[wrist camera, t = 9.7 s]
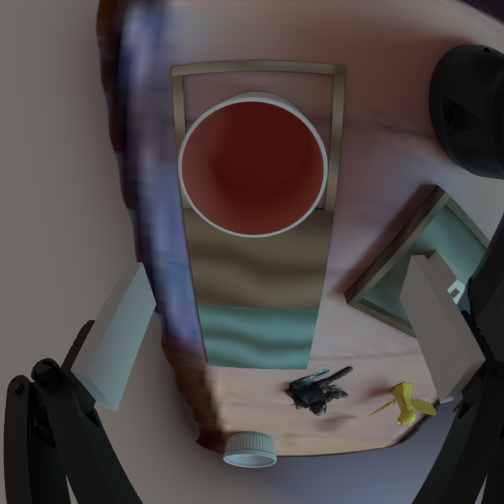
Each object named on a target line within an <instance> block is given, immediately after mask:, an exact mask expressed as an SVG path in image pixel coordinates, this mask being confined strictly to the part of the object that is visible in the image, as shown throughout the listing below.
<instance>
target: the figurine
mask: <svg viewBox="0 0 504 504" xmlns="http://www.w3.org/2000/svg"><path fill="white" fill-rule="evenodd" d="M412 386H413V384H408V383H406V382H403V383H401V384H399V385H397V386H395V388H394V389H393V390H392V393H393V395H394V397H395V399H393V398H392V399H393V401H391V402H389V403H387V404H385V405H384V406H382V407H381V408H379V409H378V410H376V411H375V412H373V413H372V414H374V413H376V412H378V411H380V410H381V409H383V408H385V407H387V406H389V405H390V404H391V403H393V402H394V404H395V401H397V403H398V405H399V407H400V410H401V411H402V412H401V414H400V416H399V417H398V419H397V420H398V424H401V423H402V424H403V425H409V426H412V423H413V422H414V420H415V418H416V413H415V411H414V410H413V408H415V409H416V410H417V412H419V413H421V412H422V413H426V414H431V415H435V414H436V413H437V412H435V409H434V408H433V405H429V403H426V402H425V401H422V400H421V399H419V400H418V399H410V395H411V390H412ZM394 404H393V405H394ZM372 414H370V415H372Z"/></svg>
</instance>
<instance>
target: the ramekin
mask: <svg viewBox="0 0 504 504" xmlns="http://www.w3.org/2000/svg"><path fill="white" fill-rule="evenodd" d="M276 458H277V457H276V455H275V447H274V442H273V440H272V439H271V437H269V436H268V435H265V434H262V433H257V432H240V433H236V434H233V435H232V436H231V437H230V438H229V440H228V442H227V446H226V450H225V453H224V456H223V459H224V461H226V462H227V463H229V464H232V465H236V466H242V467H265V466H269V465H273V464H274V463H276Z"/></svg>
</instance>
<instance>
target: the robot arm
mask: <svg viewBox="0 0 504 504" xmlns="http://www.w3.org/2000/svg"><path fill="white" fill-rule="evenodd" d="M429 109H430V116H431V121H432V125H433V129H434V131H435V134H436V137H437V139H438V141H439V143H440V145H441V146H442V148H443V150H444V151H445V152H446V154H447V155H448V156H449V157H450V158H451V159H452V160H453V161H454V162H455V163H456V164H458V165H459V166H461V167H462V168H464V169H465V170H467V171H469V172H470V173H472V174H475V175H477V176H480V177H485V178H494V179H501V180H504V54H503V53H501V52H499V51H497V50H495V49H493V48H490V47H487V46H483V45H462V46H458V47H455V48H453V49H451V50H450V51H448V52H447V53H446V54H445V55H444V56H443V57H442V58H441V60H440V61H439V63H438V64H437V66H436V68H435V70H434V73H433V76H432V79H431V84H430V91H429ZM399 299H400V301H401V303H402V305H403V307H404V310H405V312H406V314H407V316H408V319H409V321H410V323H411V326H412V328H413V330H414V333H415V335H416V338H417V340H418V343H419V345H420V348H421V350H422V353H423V355H424V358H425V360H426V363H427V366H428V368H429V371H430V374H431V377H432V380H433V382H434V385H435V388H436V391H437V394H438V397H439V400H440V403H444V402H448V401H451V400H455V399H456V397H457V396H458V395H459V394H460V393H461V392H462V395H463V399H462V400H461V401H460V402H459V403H458V404H457V406H456V407H455V408H454V409H453V412H455V411H456V410H457V409H458V410H457V413H456V415H455V418H454V421H453V423H452V426H451V428H450V431H449V433H448V435H447V438H446V440H445V442H444V444H443V446H442V449H441V451H440V453H439V455H438V457H437V459H436V461H435V463H434V465H433V467H432V469H431V471H430V473H429V475H428V476H427V478H426V480H425V482H424V484H423V486H422V487H421V489H420V491H419V493H418V494H417V496H416V498H415V499H414V501H413V502H412V504H475V501H476V499H477V497H478V495H479V492H480V490H481V488H482V486H483V483H484V481H485V478H486V476H487V479H486V484H485V489H484V494H483V498H482V502H481V504H504V213H503V216H502V218H501V220H500V222H499V225H498V227H497V229H496V231H495V233H494V235H493V237H492V240H491V242H490V244H489V246H488V248H487V250H486V251H485V253H484V255H483V257H482V259H481V261H480V263H479V265H478V266H477V268H476V270H475V272H474V274H473V275H471V277H470V278H469V279H468V281H467V283H466V285H465V290H464V292H463V294H462V296H461V297H460V299H459V301H458V303H457V304H455V302H454V300H453V299H452V297H451V295H450V294H449V292H448V290H447V289H446V287H445V286H444V284H443V282H442V281H441V279H440V278H439V276H438V275H437V273H436V272H435V270H434V269H433V267H432V266H431V264H430V263H429V261H428V260H427V258H426V257H425V255H411V259H410V263H409V267H408V270H407V274H406V277H405V281H404V284H403V287H402V291H401V294H400V297H399ZM155 306H156V302H155V299H154V296H153V293H152V290H151V287H150V284H149V281H148V278H147V275H146V272H145V269H144V266H143V263H142V262H140V263H129V264H128V265H127V267H126V269H125V270H124V272H123V273H122V275H121V277H120V279H119V280H118V282H117V283H116V285H115V287H114V289H113V290H112V292H111V294H110V296H109V297H108V299H107V301H106V302H105V304H104V306H103V308H102V310H101V312H100V313H99V315H98V317H97V319H96V321H95V320H89V321H88V322H87V323H86V324H85V325H84V326H83V327H82V328H81V330H80V332H79V334H78V335H77V338H76V339H75V341H74V343H73V345H72V346H71V348H70V350H69V353H68V354H67V356H66V358H65V360H64V362H63V364H62V366H61V368H60V367H59V365H58V364H57V363H56V361H54V360H53V359H50V358H46V359H42V360H41V361H39V362H37V364H36V365H35V366H34V367H33V370H32V373H31V378H32V379H33V380H34V381H35V382H30V381H29V379H28V378H27V377H25V376H24V375H19V376H16V377H14V379H12V380H11V382H10V383H9V385H8V389H7V398H6V408H5V422H4V478H5V490H6V500H7V504H71V502H70V497H69V491H68V486H67V480H66V476H67V478H68V481H69V483H70V486H71V488H72V490H73V493H74V495H75V498H76V500H77V502H78V504H143V503H142V501H141V500H140V498H139V496H138V495H137V493H136V491H135V490H134V488H133V486H132V485H131V483H130V481H129V479H128V478H127V475H126V474H125V472H124V470H123V468H122V466H121V464H120V462H119V460H118V459H117V456H116V454H115V452H114V450H113V448H112V446H111V444H110V442H109V439H108V437H107V435H106V433H105V430H104V428H103V426H102V423H101V421H100V419H99V416H98V414H97V411H96V409H95V408H94V404H95V402H96V401H97V403H98V404H99V405H100V406H101V407H103V408H107V409H112V410H116V411H117V409H118V406H119V403H120V400H121V396H122V394H123V391H124V388H125V385H126V382H127V380H128V377H129V374H130V371H131V368H132V365H133V363H134V359H135V357H136V354H137V352H138V349H139V347H140V344H141V341H142V339H143V336H144V334H145V331H146V328H147V326H148V323H149V321H150V318H151V316H152V313H153V311H154V308H155Z"/></svg>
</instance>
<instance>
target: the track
mask: <svg viewBox="0 0 504 504" xmlns="http://www.w3.org/2000/svg"><path fill="white" fill-rule="evenodd" d="M171 68H172V90H173V107H174V121H175V134H176V146H177V157H178V158H179V152H180V148H181V145H182V142H183V140H184V137H185V135H186V121H185V104H184V84H183V75H189V74H199V73H213V72H232V71H287V72H306V73H319V74H329V75H333V104H332V123H331V139H330V153H329V166H328V177H327V188H326V198H325V208H324V209H319V208H314V210H313V211H312V212H311V213H310V214H309V215H308V216H307V217H306V218H305V219H304V220H303V221H302V222H300V223H299V224H298V225H296V226H294V227H293V228H291V229H289V230H287V231H285V232H282V233H279V234H276V235H272V236H267V237H258V238H251V237H241V236H236V235H232V234H229V233H226V232H224V231H221V230H219V229H217V228H215V227H214V226H212V225H211V224H209V223H208V222H206V221H205V220H204V219H202V218H201V217H200V216H199V215H198V214H197V213H196V211H195V210H194V209H193V208H192V207H191V205H190V204H189V202H188V201H187V199H186V197H185V195H184V193H183V190H182V187H181V184H180V187H181V195H182V204H183V212H184V220H185V228H186V235H187V242H188V249H189V256H190V263H191V270H192V276H193V282H194V288H195V294H196V300H197V306H198V312H199V317H200V323H201V328H202V333H203V339H204V344H205V349H206V354H207V359H208V364H209V366H221V367H237V368H259V369H306V368H307V363H308V359H309V354H310V350H311V345H312V340H313V336H314V331H315V326H316V321H317V316H318V310H319V305H320V300H321V294H322V288H323V283H324V277H325V271H326V265H327V258H328V252H329V245H330V238H331V231H332V224H333V216H334V208H335V200H336V191H337V182H338V173H339V162H340V151H341V139H342V125H343V108H344V87H345V66H340V65H331V64H321V63H309V62H292V61H228V62H211V63H199V64H189V65H180V66H172V67H171Z"/></svg>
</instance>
